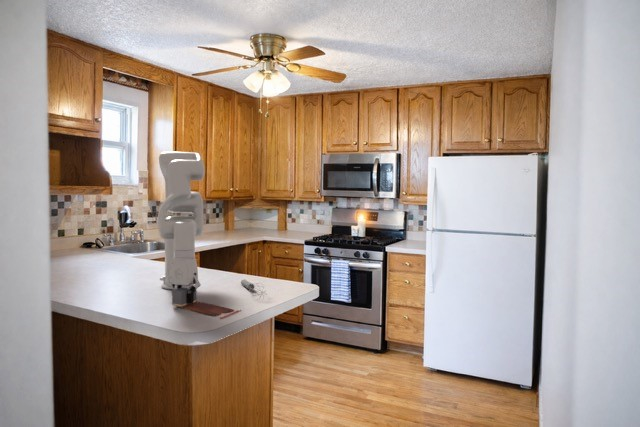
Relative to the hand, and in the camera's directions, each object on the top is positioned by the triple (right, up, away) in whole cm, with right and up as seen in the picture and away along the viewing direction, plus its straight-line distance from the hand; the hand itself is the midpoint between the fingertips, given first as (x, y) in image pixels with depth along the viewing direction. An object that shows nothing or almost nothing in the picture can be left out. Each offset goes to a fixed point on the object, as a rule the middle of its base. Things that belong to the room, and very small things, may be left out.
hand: (184, 301), depth 167 cm
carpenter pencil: (+19, -3, -11) cm, 22 cm away
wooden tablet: (+7, -3, -2) cm, 7 cm away
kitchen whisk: (+21, -1, +23) cm, 32 cm away
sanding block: (0, -1, 0) cm, 1 cm away
